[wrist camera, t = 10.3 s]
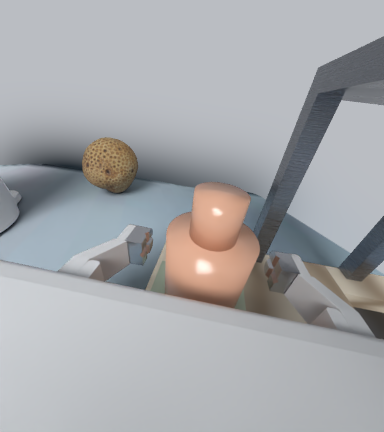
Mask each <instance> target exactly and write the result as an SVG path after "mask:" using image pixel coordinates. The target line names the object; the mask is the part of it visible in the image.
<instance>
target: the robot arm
mask: <svg viewBox="0 0 384 432" xmlns="http://www.w3.org/2000/svg"><path fill="white" fill-rule="evenodd" d="M20 200H21V195H20V194H19V192H18V191H14V190H9V189H8V188H7V186H6V185H5V183H4V182H3V180H2V178H1V177H0V233H1V232H2V231H4V230H5V229H7V228H8V227H9V226H10V225H12V224H13V223H14V222H15V220H16V219H17V218H18V216H19V209H18V207H17V203H18V202H19V201H20ZM152 234H153V230H152V228H147V227H142V226H136V225H132V224H129V225H128V226H127V227H126V228H125V229H124V230H123V232H122V233H121V234H120V235H119V236H118V238H117V239H112V240H110V241H108V242H105V243H103V244H100V245H98V246H96V247H93V248H91V249H88V250H86V251H84V252H81V253H79V254H76V255H74V256H73V257H72V258H71V259H70V260H69V261H68V262H67V263H66V264H65V265H63V266H62V267H61V268H60V269H59V270H58V271H52V270H47V269H42V268H37V267H33V266H28V265H23V264H18V263H13V262H8V261H4V260H0V432H384V340H383V339H378V338H376V337H375V335H374V334H373V333H372V331H371V330H370V328H369V327H368V325H367V324H366V323H365V321H364V320H363V318H362V317H361V315H360V314H359V313H358V312H357V311H356V310H355V309H353V308H352V307H351V306H349V305H348V304H347V303H346V302H344V301H343V300H342V299H341V298H339V297H338V296H337V295H336V294H334V293H333V292H332V291H331V290H329V289H328V288H327V287H326V286H324V285H323V284H322V283H321V282H319V281H318V280H317V279H316V278H314V277H311V276H310V274H309V272H308V270H307V269H306V267H305V265H304V263H303V262H302V260H301V258H300V256H298V255H296V254H288V253H283V252H277V251H271V252H270V254H269V257H270V258H269V259H268V260H266V262H265V265H264V272H265V275H266V276H267V277H268V280H267V283H268V287H269V290H270V291H273V292H277V293H282V294H284V295H285V297H286V298H287V299H288V300H289V301H290V303H291V304H292V305H293V306H294V308H295V309H296V310H297V311H298V313H299V314H300V315H301V316H302V317H303V319H304V320H305V321H306V322H307V324H306V323H301V322H297V321H292V320H287V319H282V318H277V317H273V316H268V315H263V314H258V313H253V312H249V311H244V310H239V309H234V308H229V307H225V306H220V305H215V304H210V303H205V302H201V301H196V300H191V299H186V298H181V297H177V296H172V295H167V294H162V293H157V292H153V291H148V290H143V289H138V288H133V287H129V286H124V285H119V284H114V283H109V282H105V281H106V280H108V279H109V278H111V277H112V276H113V275H115V274H116V273H118V272H119V271H121V270H122V269H123V268H125V267H126V266H128V265H129V264H130V263H131V264H137V265H143V264H144V263H145V261H146V259H147V254H148V253H150V251H151V248H152V245H153V238H152V237H151V236H152Z"/></svg>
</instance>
